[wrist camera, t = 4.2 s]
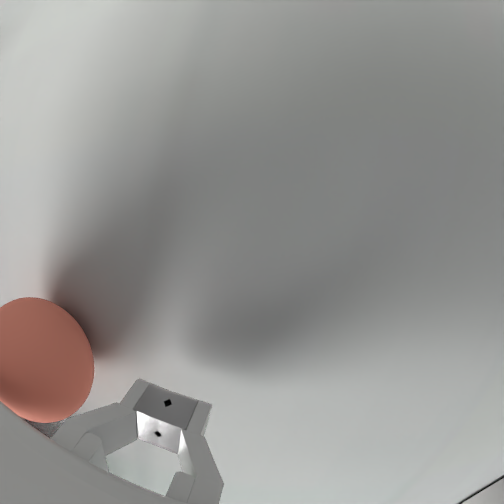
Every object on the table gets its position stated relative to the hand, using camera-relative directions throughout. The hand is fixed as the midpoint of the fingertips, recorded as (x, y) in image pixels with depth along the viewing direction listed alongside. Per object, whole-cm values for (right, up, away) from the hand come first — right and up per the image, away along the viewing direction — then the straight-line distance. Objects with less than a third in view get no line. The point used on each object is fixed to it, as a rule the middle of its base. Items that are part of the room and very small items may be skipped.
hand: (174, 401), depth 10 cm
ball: (-6, +1, 0) cm, 6 cm away
